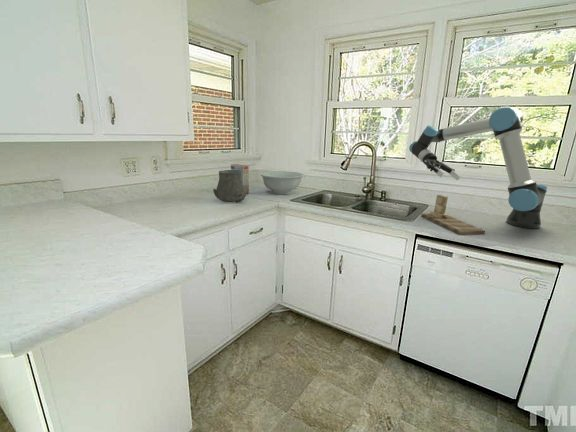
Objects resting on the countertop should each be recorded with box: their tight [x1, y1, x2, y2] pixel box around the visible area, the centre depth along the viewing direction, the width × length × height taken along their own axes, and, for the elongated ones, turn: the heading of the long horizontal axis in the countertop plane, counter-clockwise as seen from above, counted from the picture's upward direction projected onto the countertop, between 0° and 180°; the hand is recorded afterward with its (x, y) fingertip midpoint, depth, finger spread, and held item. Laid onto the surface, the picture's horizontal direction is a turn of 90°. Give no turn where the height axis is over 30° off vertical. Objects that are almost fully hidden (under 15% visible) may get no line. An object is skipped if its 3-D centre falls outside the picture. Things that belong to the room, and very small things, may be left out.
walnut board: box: [420, 212, 486, 236], centre depth 158 cm, size 32×14×2 cm, turn 9°
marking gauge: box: [429, 194, 449, 218], centre depth 165 cm, size 5×11×12 cm, turn 9°
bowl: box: [260, 170, 304, 195], centre depth 222 cm, size 32×32×15 cm
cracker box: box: [230, 163, 250, 195], centre depth 216 cm, size 14×6×21 cm, turn 49°
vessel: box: [212, 169, 247, 203], centre depth 190 cm, size 22×22×20 cm
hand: (450, 176), depth 163 cm, fingers open, 13 cm apart
